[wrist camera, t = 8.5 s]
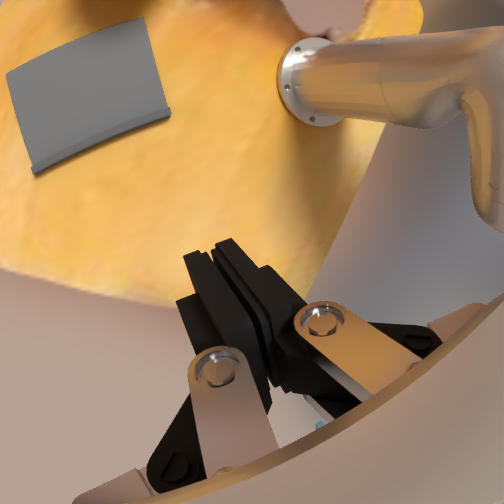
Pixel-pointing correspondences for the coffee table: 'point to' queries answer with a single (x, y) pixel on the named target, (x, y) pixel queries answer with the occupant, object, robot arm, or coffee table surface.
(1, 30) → the coffee table surface
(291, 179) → the coffee table surface
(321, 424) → the data package
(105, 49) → the slate mat
